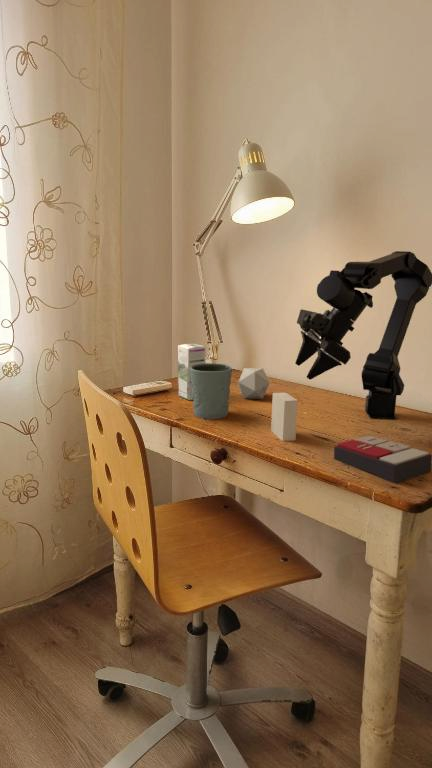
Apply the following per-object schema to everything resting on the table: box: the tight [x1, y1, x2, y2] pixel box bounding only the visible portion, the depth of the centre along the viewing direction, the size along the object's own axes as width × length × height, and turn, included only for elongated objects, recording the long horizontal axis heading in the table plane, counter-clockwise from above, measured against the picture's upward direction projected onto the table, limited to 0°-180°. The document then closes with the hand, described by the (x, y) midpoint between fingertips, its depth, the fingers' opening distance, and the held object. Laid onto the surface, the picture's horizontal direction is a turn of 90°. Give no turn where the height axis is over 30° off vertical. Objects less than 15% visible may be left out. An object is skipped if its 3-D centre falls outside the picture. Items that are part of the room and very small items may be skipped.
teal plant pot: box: [190, 362, 233, 420], centre depth 143 cm, size 10×10×12 cm
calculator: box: [333, 435, 432, 484], centre depth 112 cm, size 11×4×15 cm
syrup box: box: [177, 343, 206, 401], centre depth 158 cm, size 6×6×14 cm
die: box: [237, 367, 271, 400], centre depth 160 cm, size 8×9×10 cm
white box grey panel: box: [270, 392, 299, 442], centre depth 128 cm, size 3×7×9 cm, turn 16°
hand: (302, 371), depth 132 cm, fingers open, 9 cm apart
